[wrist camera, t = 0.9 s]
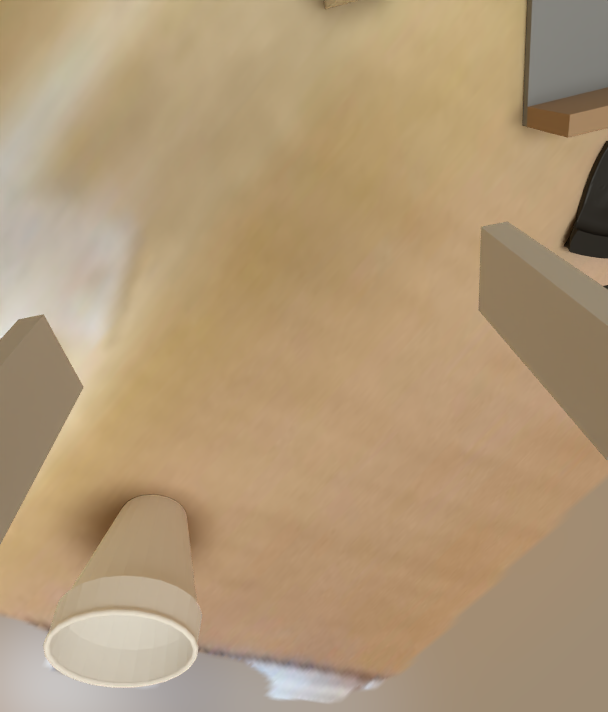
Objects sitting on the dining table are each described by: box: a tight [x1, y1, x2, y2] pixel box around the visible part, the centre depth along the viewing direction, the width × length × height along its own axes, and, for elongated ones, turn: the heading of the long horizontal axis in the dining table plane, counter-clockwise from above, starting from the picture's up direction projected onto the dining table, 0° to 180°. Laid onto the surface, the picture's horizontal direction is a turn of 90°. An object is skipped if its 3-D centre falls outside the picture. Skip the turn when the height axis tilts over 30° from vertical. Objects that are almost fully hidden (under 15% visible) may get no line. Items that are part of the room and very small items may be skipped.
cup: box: [43, 495, 202, 688], centre depth 44 cm, size 12×12×14 cm
